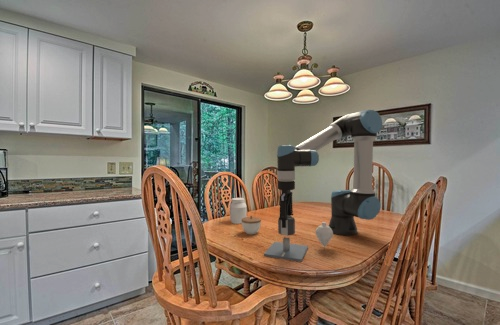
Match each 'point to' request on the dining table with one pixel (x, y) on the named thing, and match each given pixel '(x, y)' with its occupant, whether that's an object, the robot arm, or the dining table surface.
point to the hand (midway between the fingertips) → (286, 232)
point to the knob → (290, 226)
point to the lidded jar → (251, 224)
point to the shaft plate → (286, 250)
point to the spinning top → (324, 234)
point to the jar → (237, 210)
